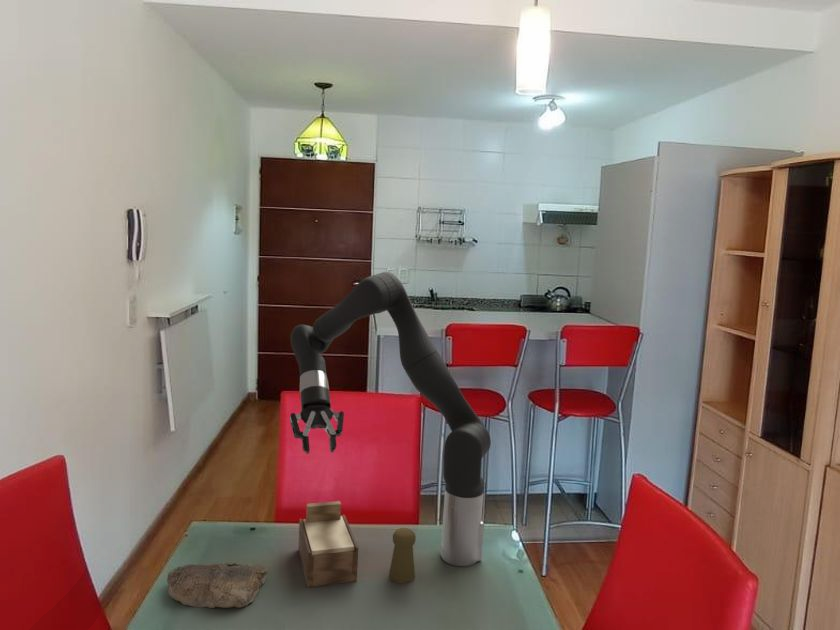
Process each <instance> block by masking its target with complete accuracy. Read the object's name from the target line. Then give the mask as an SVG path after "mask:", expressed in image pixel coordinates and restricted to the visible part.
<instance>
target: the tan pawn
mask: <svg viewBox="0 0 840 630" xmlns="http://www.w3.org/2000/svg"><path fill="white" fill-rule="evenodd" d="M415 542H416V534H415V532H414V530H412V529H410V528H409V527H408V528H407V527H400V528H397V529H395V530H394V532H393V533H392V543H393V544H394V546H393V551H392V556H391V562H390V567H389V572H388V577H389V579H390V580H391V581H392V582H394V583H398V584H408V583H411V582H413V581H414V580H415V578H416V572H415V558H414V547H413V546H414V544H416V543H415Z"/></svg>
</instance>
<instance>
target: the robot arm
mask: <svg viewBox="0 0 840 630" xmlns="http://www.w3.org/2000/svg"><path fill="white" fill-rule="evenodd" d="M383 312H387V313H388V314H389V317H390V318H391V319H392V321H393V323H394V325H395V328H396V330H397V334H398V346H399V359H400V362H401V365H402V367H403V369H404V371H405V373H406V374H407V375H406V376H408V378H409V380H410V382H411V384H412V385H413V386H414V388H415V389H416V390H417V391H418V392H419V393H420V395H422V396H423V397H424V398H425V399H426V400H428V401H429V402H430V403H431V404H432V405H433V406H434V407H435V408H436V409H438V410H437V411H439V412H440V413H441V416H443V418H444V420H445V421H446V422H447V425H448V427H449V429H450V430H451V432H449V434H448V435H447V436H446V439H445V441H444V445H443V446H444V448H443V470H442V471H443V479H444V485H445V486H444V487H445V488H444V501H443V515H442V517H443V518H442V528H441V529H442V531H441V545H440V557H441V559H442V560H443V562H446V563H447V564H450V565H451V566H456V567H469V566H473V565H475V564H476V563H477V562H480V561H482V558H483V548H484V547H483V546H484V533H485V523H484V522H483V520H482V515H483V502H484V501H483V500H484V490H485V488H484V487H485V481H484V478H482V477H481V476H482V473H481V472H482V471H481V470H482V458H483V457H485V456H486V455H487V453H488V452H489V451H490V448H491V445H492V444H491V443H492V440H491V439H492V438H491V435H490V433H489V431H488V429H487V426H485V424H484V422H482V420H481V419H480V418H479V416H478V415H477V413H476V411H475V410H474V409H473V407H471V405H470V404H469V402H468V401H467V400H466V398H465V396H464V395H463V393H462V391H461V389H460V388H459V385H458V384H457V382H456V380H455V379H454V377H453V375H452V373H451V372H450V369H448V366H447V364H446V363H445V361H444V359H443V358H442V356H441V354H440V353H439V351H438V349H437V347H436V346H435V344H434V343H433V342H432V339H430V336H429V335H428V333H427V331H426V330H425V329H426V328H425V327H424V326H423V323H422V322H421V319H420V317H418V314H417V312H416V310H415V308H414V305H413V304H412V301H411V299H410V297H409V295H408V292H407V291H406V289H405V286H404V285H403V283H402V281H401V280H400V279H399V278H398V276H397V275H395V274H394V273H392V272H390V271H382V272H380V273H376V274H372V275H370V276H367V277H365V278H363V279H362V280H360V281H359V282H358V283H357V284H356V285H355V286H354V287H353V288H352V289H351V291H350V292H349V293H348V294H347V296H345V298H343V300H341V301H340V302H339V303H338V304H337V305H335V306H333V307H332V308H331V309H329V310H328V311H327V312H325V313H323V314H322V315H321V316H319V317H317V318H316V319H315V321H314V322H313V325H312V326H310V325H308V324H298V325H296V326H295V327H294V328H293V329H292V331H291V333H290V347H291V349H292V351H293V354H294V356H295V359H296V362H297V364H298V368H299V394H300V406H301V407H300V408H301V409H300V410H301V411H300V413H294V412H292V413H290V416H289V422H290V425H291V430H292V434H293V437H294V439H300V440H301V444H302V451H303V452H305V454H306V455H307V454H308V455H309V454H310V441H309V440H310V439H309V433H310V430H311V429H312V430H314V429H324V431H325V433H326V434H327V435H328V437H329V439H328V442H329V443H328V444H329V450H330V451H329V452H330V453H334V452H335V450H336V448H337V438H336V437H341V436H342V433H343V429H344V419H345V417H344V415H345V412H344V411H342V410H341V411H339V412H338V411H337V412H336V411H334V410H333V409H332V405H331V396H330V395H331V394H330V387H329V379H328V376H327V367H326V360H325V358H324V357H323V356H322V355H321V354H323V353H325V352H326V351H327V350H328V348H329V346H330V345H331V344H332V343H333V341H334V340H335V339H336V338H338V337H340V336H341V335H342V334H344V333H345V332H346V331H348V330H349V329H350V328H351V327H352V325H353V324H354V323H355V322H356V321H358V320H360V319H363V318H367V317H369V316H371V315H377V314H381V313H383ZM333 418H334V421H336V429H335V428H334V427H333V424H332V422H331V420H332V419H333ZM300 419H301V420H302V421H303V422H304V424H305V427H304V429H303V431H301V430H300V426H299V422H300Z"/></svg>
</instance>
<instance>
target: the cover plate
mask: <svg viewBox="0 0 840 630" xmlns="http://www.w3.org/2000/svg"><path fill="white" fill-rule="evenodd" d="M305 511H306V514H305V515H306V516H305V517H306V518H304V519H302V522H303V525H304V529H305V533H306V536H307V540H308V544H309V547H310V551H311V555H319V554H329V553H338V552H347V551H354V545H353V542H352V540H351V537H350V535H349V532H348V530H347V527H346V525H345V522H344V520H343V515H341V512H342V503H341V501H340V500H337V501H335V500H334V501H325V502H324V501H323V502H314V503H311V502H310V503H306V510H305Z"/></svg>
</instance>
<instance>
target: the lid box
mask: <svg viewBox="0 0 840 630" xmlns="http://www.w3.org/2000/svg"><path fill="white" fill-rule="evenodd" d="M342 517H343V520H344V522H345V525H346V527H347V530H348V532H349V535H350V537H351V540H352V542H353V545H354V551H347V552H338V553H329V554H319V555H311V551H310V547H309V544H308V540H307V536H306V533H305V529H304V525H303V519H302V518H299V520H298V523H299V525H298V554H299V558H300V562H301V567H302V570H303V575H304V579H305V583H306V586H307V588H310V587H319V586H328V585H335V584H336V585H337V584H343V583H351V582H353V583H354V582H358V567H359V566H358V565H359V560H358V559H359V546H358V543H357V542H356V541H357V540H356V539H355V537H354V534H353V532H352V529H351V526H350V524H349V521H348V519H347V517H346V515H345V514H342Z"/></svg>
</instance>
